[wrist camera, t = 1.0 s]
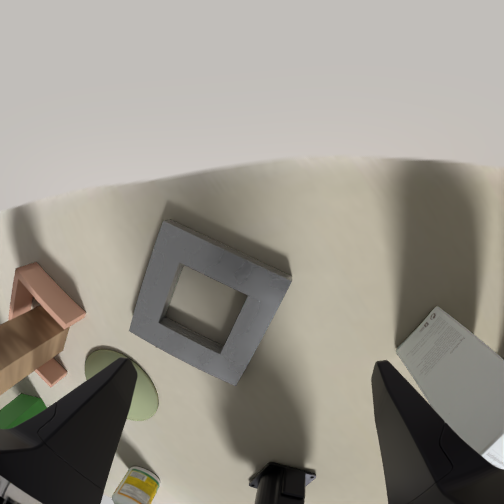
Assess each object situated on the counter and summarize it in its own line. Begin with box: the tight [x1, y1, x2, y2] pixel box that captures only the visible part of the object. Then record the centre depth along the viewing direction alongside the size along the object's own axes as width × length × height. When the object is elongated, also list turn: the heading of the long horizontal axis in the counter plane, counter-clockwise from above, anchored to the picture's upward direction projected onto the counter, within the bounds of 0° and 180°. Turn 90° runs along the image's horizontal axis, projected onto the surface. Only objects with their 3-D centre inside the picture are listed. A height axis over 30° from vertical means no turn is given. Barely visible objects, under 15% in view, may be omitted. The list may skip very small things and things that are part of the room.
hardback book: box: [0, 394, 47, 429], centre depth 22 cm, size 18×7×24 cm, turn 15°
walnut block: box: [0, 305, 69, 395], centre depth 22 cm, size 4×4×13 cm
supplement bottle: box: [112, 466, 160, 504], centre depth 27 cm, size 5×5×10 cm
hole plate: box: [129, 219, 292, 386], centre depth 24 cm, size 11×11×2 cm
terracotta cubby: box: [8, 262, 86, 387], centre depth 27 cm, size 9×12×4 cm
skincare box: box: [396, 306, 504, 469], centre depth 15 cm, size 8×6×15 cm
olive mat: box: [85, 349, 158, 421], centre depth 28 cm, size 10×10×1 cm
